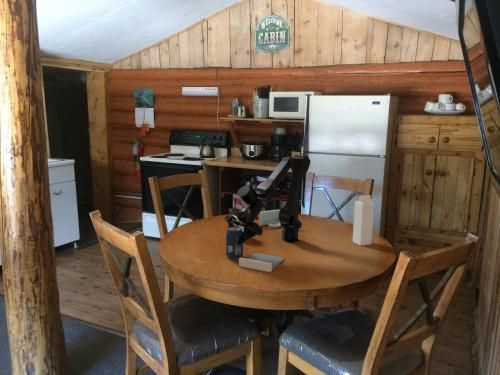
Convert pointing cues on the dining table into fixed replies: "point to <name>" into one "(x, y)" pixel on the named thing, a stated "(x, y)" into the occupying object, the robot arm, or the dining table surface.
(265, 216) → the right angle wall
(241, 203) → the pink printed box
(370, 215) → the milk
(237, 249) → the soda can
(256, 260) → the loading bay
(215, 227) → the dining table surface
